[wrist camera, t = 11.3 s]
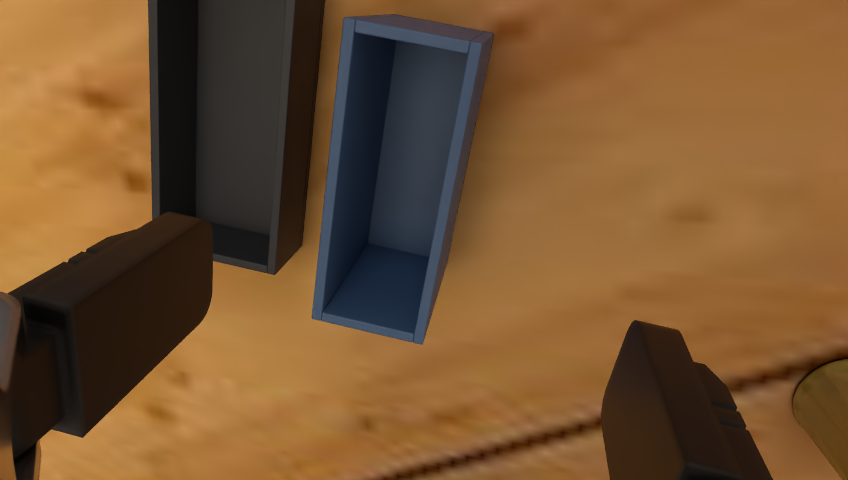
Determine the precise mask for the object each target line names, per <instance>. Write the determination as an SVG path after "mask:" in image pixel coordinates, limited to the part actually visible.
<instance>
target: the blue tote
mask: <svg viewBox="0 0 848 480" xmlns="http://www.w3.org/2000/svg"><path fill="white" fill-rule="evenodd" d="M493 36H494V33H490V32H485V31H480V30H474V29H469V28H464V27H459V26H453V25H448V24H443V23H437V22H432V21H427V20H422V19H416V18H411V17H406V16H400V15H395V14H390V15H372V16H355V17H344V20H343V29H342V39H341V48H340V57H339V67H338V76H337V86H336V95H335V104H334V114H333V123H332V132H331V142H330V151H329V160H328V170H327V179H326V189H325V198H324V207H323V217H322V226H321V235H320V245H319V254H318V264H317V273H316V282H315V292H314V301H313V310H312V319H315V320H320V321H321V320H322V321H324V322H328V323H332V324H337V325H341V326H345V327H349V328H354V329H358V330H362V331H366V332H371V333H375V334H379V335H383V336H388V337H392V338H396V339H400V340H405V341H409V342H414V343H417V344H423V342H424V339H425V335H426V332H427V329H428V325H429V322H430V319H431V315H432V312H433V308H434V305H435V302H436V298H437V295H438V292H439V288H440V285H441V282H442V278H443V275H444V271H445V268H446V265H447V260H448V255H449V250H450V245H451V241H452V236H453V231H454V226H455V221H456V216H457V211H458V207H459V202H460V197H461V192H462V187H463V182H464V177H465V172H466V168H467V163H468V158H469V153H470V148H471V143H472V138H473V134H474V129H475V124H476V119H477V114H478V109H479V104H480V100H481V95H482V90H483V85H484V80H485V75H486V70H487V66H488V61H489V56H490V51H491V46H492V41H493Z"/></svg>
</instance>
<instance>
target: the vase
mask: <svg viewBox="0 0 848 480" xmlns="http://www.w3.org/2000/svg"><path fill="white" fill-rule="evenodd" d="M793 410H794V414H795V417H796V419H797V421H798V423H799V424H800V425H801V426H802V427H803V428H804V429H805V430H806V431H807V433H808V434H809V435H810V437H811V438H812V440H813V441H814V442H815V444H816V445H817V447H818V448H819V449H820V451H821V452H822V453H823V455H824V456H825V457H826V459H827V460H828V461H829V462H830V464H831V465H832V466H833V468H834V469H835V470H836V472H837V473H838V474H839V475H840V477H841V478H842V479H843V480H848V359H843V360H839V361H835V362H831V363H828V364H826V365H823V366H821V367H819V368H818V369H816V370H815V371H813V372H812V373H811V374H809V375H808V376H807V377H806V378H805V379H804V380H803V381H802V382H801V383H800V385H799V387H798V388H797V390H796V393H795V395H794V399H793Z"/></svg>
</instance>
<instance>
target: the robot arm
mask: <svg viewBox="0 0 848 480" xmlns="http://www.w3.org/2000/svg"><path fill="white" fill-rule="evenodd" d="M212 278H213V228H212V225H211V223H210V222H209V221H208V220H205V219H200V218H196V217H192V216H187V215H183V214H179V213H174V212H166V213H164V214H162V215H161V216H159V217H157V218H156V219H154V220H152V221H150V222H149V223H147V224H145V225H143V226H142V227H140V228H138V229H136V230H132V231H128V232H125V233H121V234H118V235H114V236H110V237H107V238H106V239H104V240H102V241H100V242H98V243H97V244H95V245H93V246H91V247H89V248H88V249H86V252H81V253H79V254H77V255H75V256H73V257H72V258H70V259H69V261H68V263H67V262H63V263H61V264H59V265H57V266H56V267H54V268H52V269H50V270H49V271H47V272H45V273H43V274H41V275H40V276H38V277H36V278H34V279H33V280H31V281H29V282H27V283H25V284H24V285H22V286H20V287H18V288H17V289H15V290H13V291H11V292H9V293H8V294H7V293H4V292H0V480H39V476H40V464H41V446H40V438H42V437H43V436H44V435H45V434H46V433H47V432H48V431H49V430H51V429H53V430H56V431H60V432H63V433H67V434H71V435H74V436H78V437H82V438H83V437H84V436H85V435H86V434H87V433H88V432H89V431H90V430H91V429H92V428H93V427H94V426H95V425H96V424H97V423H98V422H99V421H100V420H101V419H102V418H103V417H104V416H105V415H106V414H107V413H108V412H109V411H111V410H112V409H113V408H114V407H115V406H116V405H117V404H118V403H119V402H120V401H121V400H122V399H123V398H124V397H125V396H126V395H127V394H128V393H129V392H130V391H131V390H132V389H133V388H134V387H135V386H136V385H137V384H138V383H139V382H140V381H141V380H142V379H143V378H144V377H145V376H146V375H147V374H148V373H150V372H151V371H152V370H153V369H154V368H155V367H156V366H157V365H158V364H159V363H160V362H161V361H162V360H163V359H164V358H165V357H166V356H167V355H168V354H169V353H170V352H171V351H172V350H173V349H174V348H175V347H176V346H177V345H178V344H179V343H180V342H181V341H182V340H183V339H184V338H185V337H186V336H187V335H188V334H190V333H191V332H192V331H193V330H194V329H195V328H196V327H197V326H198V325H199V324H200V323H201V321H202V320H203V319H204V317H205V315H206V313H207V311H208V308H209V306H210V302H211V298H212ZM736 410H737V406H736V404H735V402H734V400H733V398H732V396H731V394H730V392H729V390H728V388H727V386H726V385H725V384H724V383H723V382H722V381H721V380H720V379H719V378H718V377H717V376H716V375H715V374H714V373H713V372H712V371H711V370H710V369H709V368H708V367H707V366H706V365H705V364H701V363H697V362H693V360H692V357H691V355H690V353H689V351H688V348H687V346H686V344H685V341H684V339H683V337H682V335H681V333H680V331H679V330H676V329H672V328H667V327H663V326H659V325H654V324H650V323H646V322H642V321H637V320H635V321H633V322H632V323H631V325H630V327H629V329H628V331H627V333H626V336H625V339H624V341H623V344H622V347H621V349H620V352H619V355H618V358H617V360H616V363H615V366H614V368H613V371H612V374H611V377H610V379H609V382H608V385H607V387H606V390H605V394H604V398H603V403H602V411H601V425H602V432H603V438H604V444H605V451H606V457H607V463H608V469H609V476H610V480H773V479H772V477H771V475H770V473H769V471H768V469H767V467H766V465H765V463H764V461H763V459H762V457H761V455H760V453H759V451H758V449H757V447H756V445H755V443H754V441H753V439H752V436H751V434H750V432H749V431H748V430H746V424H745V422H744V420H743V418H742V416H741V414H740V412H738V411H736Z"/></svg>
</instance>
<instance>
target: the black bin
mask: <svg viewBox="0 0 848 480" xmlns="http://www.w3.org/2000/svg"><path fill="white" fill-rule="evenodd" d="M324 3H325V0H148V18H149V69H150V121H151V172H152V220H154V219H156V218H157V217H159V216H161V215H162V214H164V213H166V212H174V213H179V214H183V215H187V216H192V217H196V218H200V219H205V220H208V221H209V222H210V223H211V225H212V228H213V261H216V262H221V263H225V264H229V265H234V266H238V267H242V268H247V269H251V270H255V271H260V272H264V273H268V274H273V275H275V274H276V273H277V272H278V271H279V270H280V269H281V268H282V267H283V266H284V265H285V263H286V262H287V261H288V260H289V259H290V258H291V257H292V256H293V255H294V254H295V253H296V252H297V250H298V249H299V248H300V247H301V246H302V239H303V228H304V218H305V207H306V196H307V185H308V175H309V164H310V153H311V142H312V132H313V121H314V110H315V99H316V89H317V78H318V67H319V56H320V46H321V35H322V24H323V14H324Z"/></svg>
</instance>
